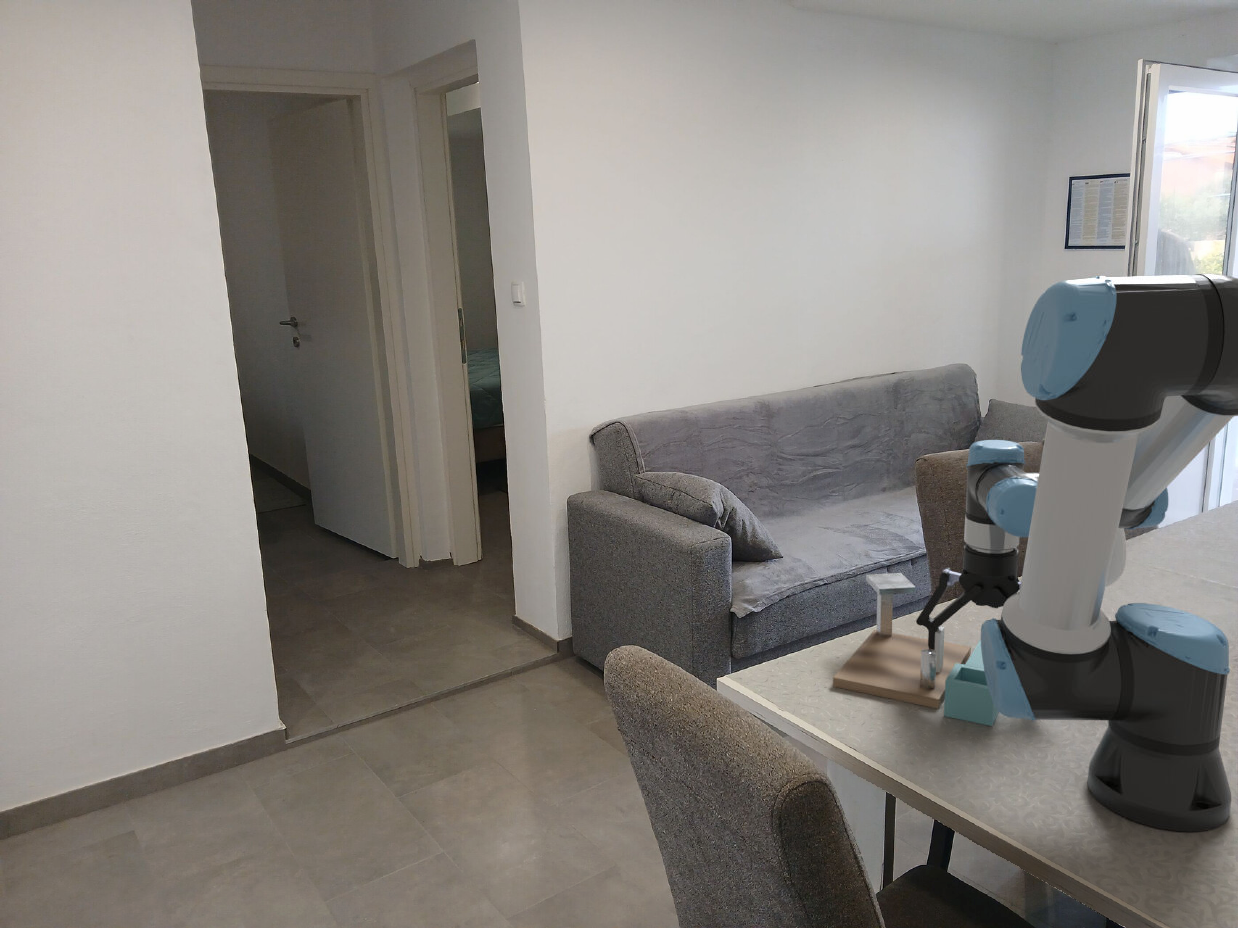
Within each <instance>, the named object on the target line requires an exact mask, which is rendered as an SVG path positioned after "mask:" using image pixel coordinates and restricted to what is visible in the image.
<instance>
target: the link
mask: <svg viewBox="0 0 1238 928" xmlns="http://www.w3.org/2000/svg"><path fill="white" fill-rule="evenodd" d="M943 703H944V704H943V705H944V706H943V707H944V708H943V716H944V717H948V718H952V719H958V720H961V721H965V722H972V723H976V724H981V725H984V726H985V725H986V726H989V727H993V725H994V724H995V721H996V719H997V716H998V714H999V713H1000V712H999V711H998V710H997V709H996V707H995V705H994V703H993V701H992V698H991V696H990V692H989V689H988V685H987V681H986V677H985V672H984V666H983V659H982V651H981V638H980V639H979V641H978V643H977V645H976V646H975V648H974V649H973V651H972V653H971V655H970V657H969V659H968V660H967V662H966V664H965V665H964V664H959V663H956V664H955V666H954V667H953V669H952V671H951V672H950V674H949V675H948V677H947V679H946V680H945V699H944V701H943Z"/></svg>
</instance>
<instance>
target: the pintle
mask: <svg viewBox="0 0 1238 928" xmlns="http://www.w3.org/2000/svg"><path fill="white" fill-rule="evenodd" d="M936 658H937V652H936V651H934V650H931V649H924V650H922V651H921V672H920V687H921V688H923V689H928V690H931V689H934V688H935V685H936Z"/></svg>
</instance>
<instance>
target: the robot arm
mask: <svg viewBox="0 0 1238 928" xmlns="http://www.w3.org/2000/svg"><path fill="white" fill-rule="evenodd" d="M1020 354H1021V356H1022V361H1021V364H1020V373H1021V375H1020V376H1021V380H1022V381H1021V382H1022V385H1023V387H1024V389H1025V391H1026V393H1028V395H1029V396H1030V397H1032V398H1035V400H1034V405H1035V408H1036V410H1037V411H1038V412H1039V413H1040V414H1041V415H1042V416H1043V417H1044V418H1045V419H1046V420H1047V424H1046V429H1045V436H1044V442H1043V447H1042V453H1041V460H1040V465H1039V472H1026V471H1024V468H1025V467H1024V466H1026V461H1025V450H1024V447H1023V446H1022V445H1021V444H1019V443H1018V442H1015V441H1010V440H1004V439H985V440H979V441H975V442H973V443H972V444H971V445H970V446H969V448H968V457H967V464H966V465H965V467H966V471H967V473H966V492H965V493H966V497H965V515H964V516H965V517H964V518H965V519H964V534H963V535H964V536H963V541H964V542H965V543H966V544H965V545H964V546H963V559H962V561H963V562H962V563H963V564H962V571H961V573H960V572H956V571H953V569H952V568H950V567H945V568H944V569H943V571H942V572H941V573H940V575H939V579H938V580H939V582H938V586H937V587H936V589H935V590H934V592H933V593H932V595H931V597H930V598H929V600H927V603H926V604H925V606H924V608H923V609H922V610H921V612H920V614H919V615H918V617H917V618H916V620H915V622H916V625H918V626H919V627H920V626H923V627H924V628H927V631H928V633H927V634H928V635H927V639H928V647H929V649H932V650H935V651H936V652H937V658H936V672H937V673H939V672H940V670H941V669H942V667H943V654H944V642H945V627H944V626H942V625H943V624H945V623H946V622H947V621H948V620H949V619H951V617H952V616H954V615H955V614H956V613H957V612H959V611H960V610H961V609H962V608H963V607H965V606H967V604H969V603H970V602H972V603H974V604H975V605H976V606H980V607H984V606H985V607H986V606H987V607H989V608H993V609H999V608H1001V607H1002V610H1001V617H1000V619H997V618H993V617H992V618H991V619H988V620H985V621H984V622H983V623H982V625H981V627H980V639H981V651H982V659H983V666H984V672H985V677H986V681H987V685H988V689H989V692H990V696H991V698H992V701H993V703H994V705H995V707H996V709H997V710H998V711H999V713H1000V714H1001V715H1003V716H1005V717H1007V718H1010V719H1011V718H1013V719H1022V720H1023V719H1024V720H1031V721H1037V720H1040V721H1041V720H1043V721H1045V720H1046V721H1047V720H1051V721H1052V720H1053V721H1058V720H1060V721H1061V720H1062V721H1063V720H1064V721H1066V720H1067V721H1107V723H1108V725H1107V728H1106V729H1105V732H1104V733H1103V736H1102V738H1101V740H1100V742H1099V744H1098V745H1097V747H1096V750H1095V751H1094V754H1093V755H1092V757H1091V760H1090V762H1089V764H1088V765H1089V766H1088V773H1087V774H1088V775H1087V786H1088V789H1089V791H1090V793H1091V794H1092V795H1093V797H1094V798H1095V799H1096V800H1097V801H1098V802H1099V803H1101V804H1102V805H1103V806H1104V807H1105V808H1107V809H1108V810H1111V811H1112V812H1114V813H1116V814H1117V815H1120V816H1121V817H1124V818H1125V819H1128V820H1130V821H1133V822H1136V823H1139V824H1142V825H1144V826H1145V825H1146V826H1148V827H1153V828H1157V829H1162V830H1166V831H1167V830H1168V831H1176V832H1202V831H1206V830H1207V831H1208V830H1211V829H1215V828H1217V827H1219V826H1221V825H1223V824H1224V823H1225V822H1226V821H1227V820H1228V819H1229V817H1230V813H1231V804H1232V791H1231V787H1230V783H1229V780H1228V777H1227V773H1226V770H1225V766H1224V762H1223V758H1222V755H1221V751H1220V741H1221V732H1222V723H1223V716H1224V707H1225V698H1226V689H1227V682H1228V674H1230V671H1231V670H1230V669H1231V668H1230V662H1229V661H1230V658H1229V657H1230V656H1229V655H1230V654H1229V653H1230V652H1229V651H1230V646H1229V645H1230V643H1229V640H1228V638H1227V636H1226V634H1225V633H1224V632H1223V630H1221V629H1220V628H1219V627H1218V626H1217V625H1216V624H1214V623H1212V622H1210V621H1209V620H1207V619H1205V618H1203V617H1201V616H1199V615H1195V614H1194V613H1190V612H1188V611H1184V610H1181V609H1178V608H1174V607H1170V606H1165V605H1161V604H1155V603H1154V604H1153V603H1146V602H1130V603H1127V604H1123V605H1121V606H1120V607H1118V609H1117V611H1116V613H1115V614H1114V619H1115V620H1109V618H1108V617H1107V615H1106V614H1105V613H1104V611H1103V610H1102V603H1103V601H1104V600H1103V599H1104V594H1105V590H1106V587H1105V586H1106V582H1107V577H1108V572H1109V568H1110V563H1111V559H1112V554H1113V550H1114V545H1115V541H1116V536H1117V531H1118V528H1123V529H1124V530H1136V529H1140V528H1141V529H1142V528H1152V527H1156V526H1158V525H1160V524H1161V523H1163V522H1164V519H1165V517H1166V512H1167V511H1168V509H1169V492H1168V491H1169V490H1168V486H1170V485H1171V483H1172V482H1173V481H1175V479H1176V478H1177V477H1178V476H1179V475H1180V474H1181V473H1182V472H1183V470H1185V468H1187V467H1188V465H1189V464H1190V463H1191V462H1193V460H1194V459H1195V458H1196V457H1197V456H1198V455H1199V454H1200V453H1201V452H1202V450H1204V448H1206V446H1208V444H1209V443H1210V442H1212V441H1213V439H1214V438H1215V437H1216V436H1217V435H1218V434H1219V433H1221V430H1222V429H1223V428H1224V427H1226V425H1227V424H1228V423H1230V421H1231V420H1233V418H1234V417H1238V278H1237V277H1234V276H1230V275H1225V274H1218V273H1217V274H1216V273H1197V274H1190V275H1189V274H1187V275H1184V274H1181V275H1180V274H1178V275H1151V276H1149V275H1146V276H1120V277H1119V276H1118V277H1117V276H1116V277H1115V276H1114V277H1107V276H1105V275H1095V276H1092V277H1089V278H1081V279H1080V278H1079V279H1069V280H1067V279H1066V280H1062V281H1060V282H1059V281H1058V282H1057V283H1054V284H1052V285H1051V286H1049V287H1047V289H1046V290H1045V291H1044V292H1043V293H1042V294H1041V295H1040V296H1039V297H1038V298H1037V301H1036V303H1034V306H1033V307H1032V310H1031V312H1030V314H1029V318H1028V320H1027V323H1026V327H1025V330H1024V334H1023V339H1022V344H1021V353H1020ZM1020 538H1028V539H1027V545H1026V551H1025V558H1024V560H1023V561H1024V564H1023V568H1022V573H1021V579H1019V577H1018V567H1019V552H1020V551H1019V549H1018V548H1017V547H1018V546H1019V545H1020ZM1020 580H1021V581H1020ZM956 582H959V585H960V586H961V588H962V589H963V590H964V591H963V592H962V593H961V594H960V595H959V596H958V597H957V598H956V599H954V600H953V601H952V602H951V603H950V604H949V605H948V606H946V607H945V608H944V609H943V610H942V611H941V612H939V613H938V614H937V615H936V616H935V617H931V614H932V612H933V611H934V609H936V608H935V607H936V606H937V605H938V603H939V602H940V600H941V598H942V597H943V595H944V594H945V592H946V591H947V589H948V588H949V587H952V586H954V584H955V583H956Z"/></svg>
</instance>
